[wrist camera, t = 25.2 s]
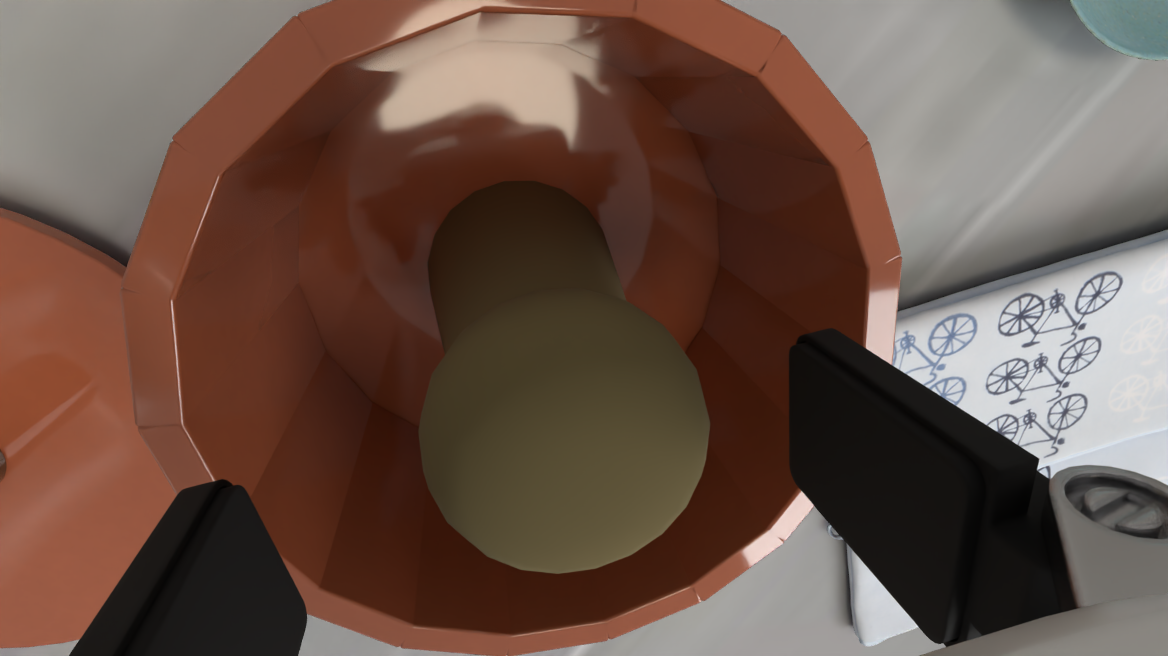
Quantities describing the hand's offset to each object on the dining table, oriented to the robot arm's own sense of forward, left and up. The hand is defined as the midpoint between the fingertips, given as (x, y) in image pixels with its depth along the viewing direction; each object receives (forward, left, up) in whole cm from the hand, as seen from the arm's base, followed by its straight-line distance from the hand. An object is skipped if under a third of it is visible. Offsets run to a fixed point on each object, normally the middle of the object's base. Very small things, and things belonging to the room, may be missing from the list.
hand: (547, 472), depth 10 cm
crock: (+1, 0, -11) cm, 11 cm away
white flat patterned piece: (+22, -14, -11) cm, 28 cm away
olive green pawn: (+1, 0, -10) cm, 10 cm away
